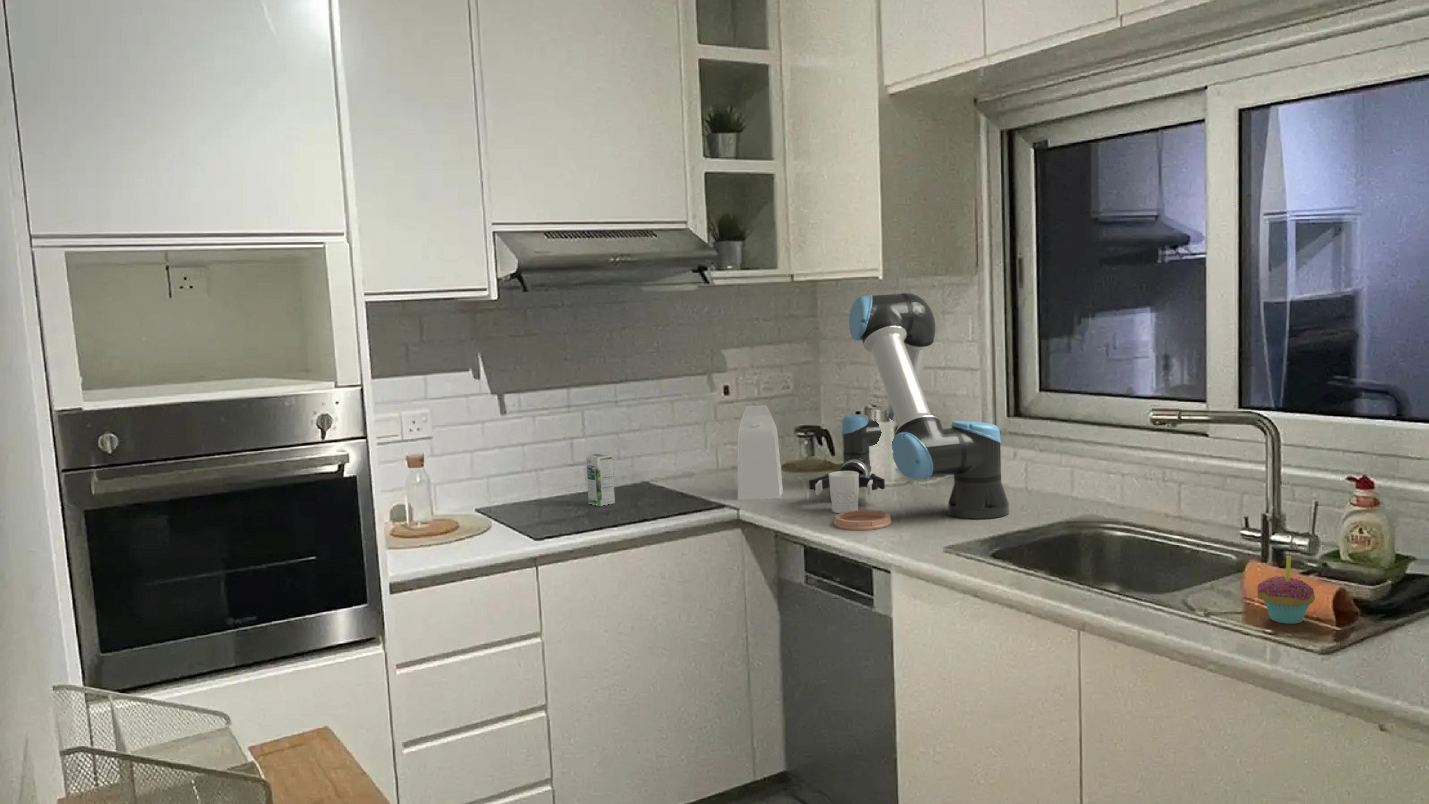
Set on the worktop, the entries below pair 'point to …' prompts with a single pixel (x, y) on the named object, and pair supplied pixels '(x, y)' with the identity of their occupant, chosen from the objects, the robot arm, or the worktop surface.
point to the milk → (758, 455)
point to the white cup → (844, 491)
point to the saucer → (862, 520)
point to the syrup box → (600, 479)
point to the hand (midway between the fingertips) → (842, 490)
